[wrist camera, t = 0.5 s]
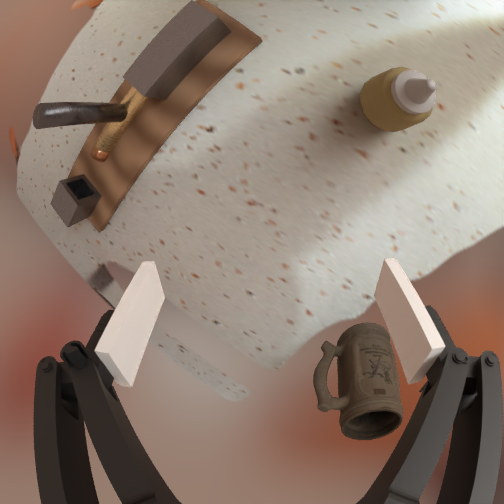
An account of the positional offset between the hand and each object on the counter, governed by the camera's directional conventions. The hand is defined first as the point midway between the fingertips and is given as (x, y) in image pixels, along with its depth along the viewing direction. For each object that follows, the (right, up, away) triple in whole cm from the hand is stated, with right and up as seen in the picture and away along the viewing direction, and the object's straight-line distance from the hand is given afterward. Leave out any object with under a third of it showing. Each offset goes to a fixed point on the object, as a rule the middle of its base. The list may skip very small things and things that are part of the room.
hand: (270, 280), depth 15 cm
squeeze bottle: (+18, +23, +17) cm, 33 cm away
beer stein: (+18, -16, +33) cm, 41 cm away
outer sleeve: (-11, +32, +18) cm, 38 cm away
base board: (-20, +24, +25) cm, 40 cm away
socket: (-34, +13, +31) cm, 48 cm away
